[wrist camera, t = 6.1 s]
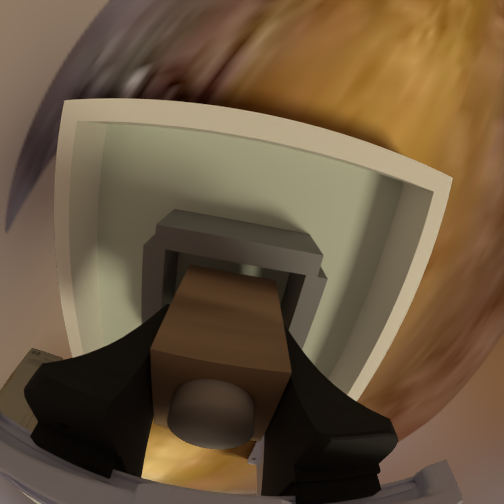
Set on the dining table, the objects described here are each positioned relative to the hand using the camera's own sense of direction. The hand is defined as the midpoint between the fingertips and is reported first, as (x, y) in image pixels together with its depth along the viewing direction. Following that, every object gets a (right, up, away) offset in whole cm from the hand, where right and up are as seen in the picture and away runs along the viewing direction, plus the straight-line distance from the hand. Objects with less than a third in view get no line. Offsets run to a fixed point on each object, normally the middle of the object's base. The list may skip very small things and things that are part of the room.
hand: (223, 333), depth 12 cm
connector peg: (0, +1, +2) cm, 2 cm away
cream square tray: (0, +2, +5) cm, 5 cm away
